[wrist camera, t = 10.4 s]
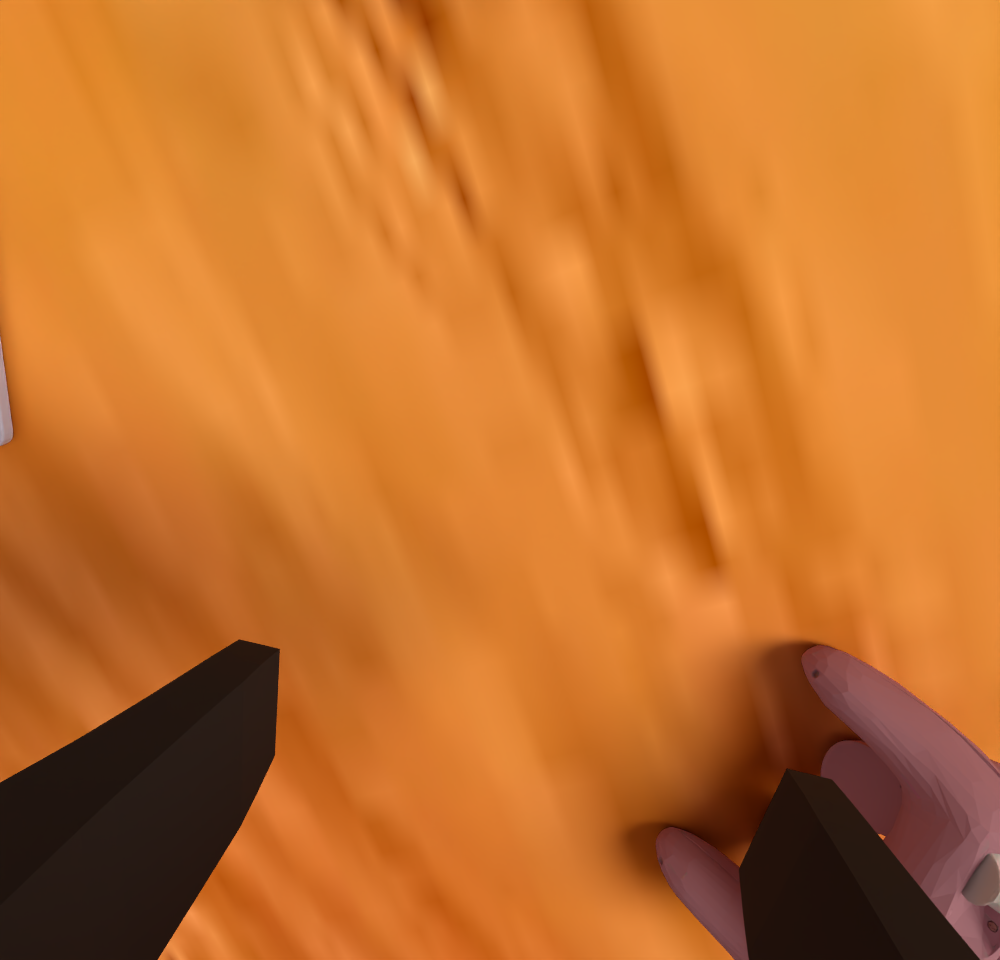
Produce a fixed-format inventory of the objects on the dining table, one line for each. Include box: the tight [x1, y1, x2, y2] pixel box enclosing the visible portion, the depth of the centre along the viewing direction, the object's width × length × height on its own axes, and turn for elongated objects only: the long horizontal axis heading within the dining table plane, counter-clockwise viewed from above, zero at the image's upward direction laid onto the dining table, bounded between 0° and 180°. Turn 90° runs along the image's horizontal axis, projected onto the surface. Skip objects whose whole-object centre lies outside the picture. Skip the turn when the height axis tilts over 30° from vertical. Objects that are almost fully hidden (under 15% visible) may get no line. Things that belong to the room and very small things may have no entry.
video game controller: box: [656, 645, 1000, 960], centre depth 18 cm, size 10×5×7 cm, turn 157°
